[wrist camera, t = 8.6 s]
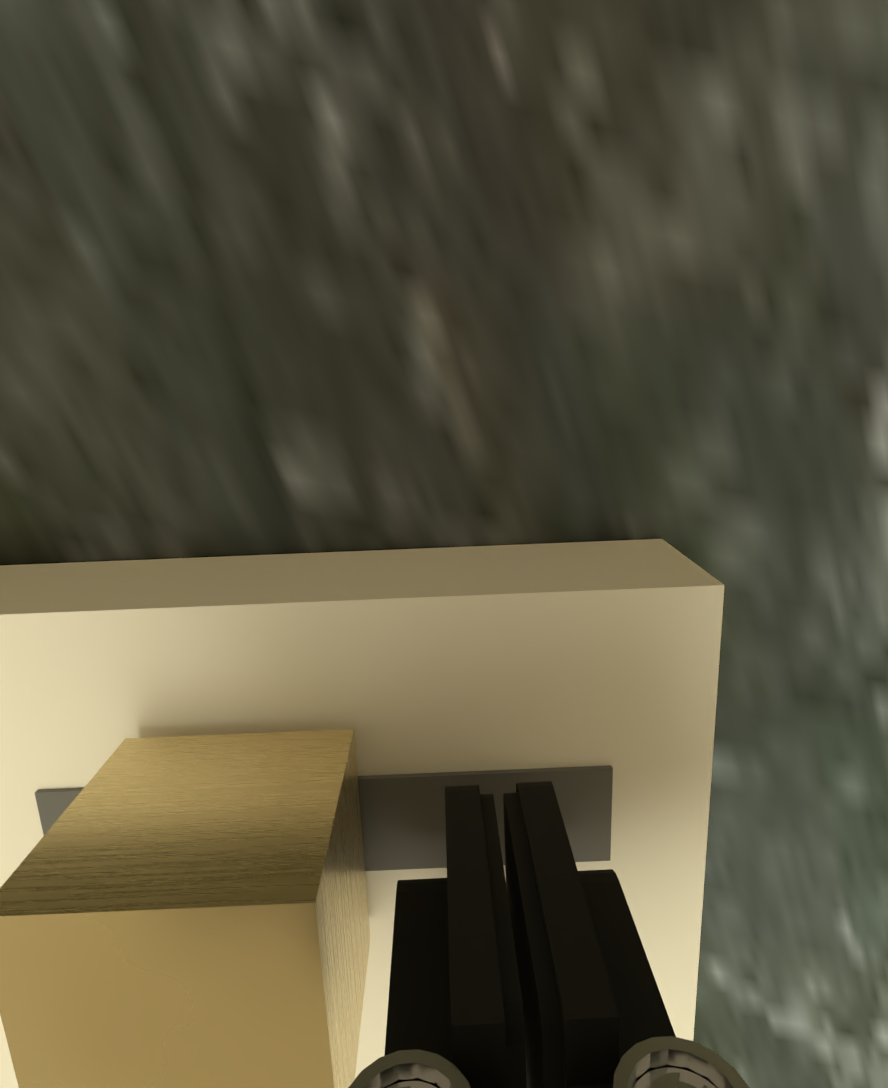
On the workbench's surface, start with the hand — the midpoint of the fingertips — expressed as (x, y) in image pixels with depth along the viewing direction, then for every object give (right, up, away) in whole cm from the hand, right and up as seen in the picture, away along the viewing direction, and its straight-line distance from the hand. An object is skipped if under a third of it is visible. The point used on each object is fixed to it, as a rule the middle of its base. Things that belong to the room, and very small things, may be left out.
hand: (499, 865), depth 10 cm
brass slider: (-4, 0, +1) cm, 4 cm away
